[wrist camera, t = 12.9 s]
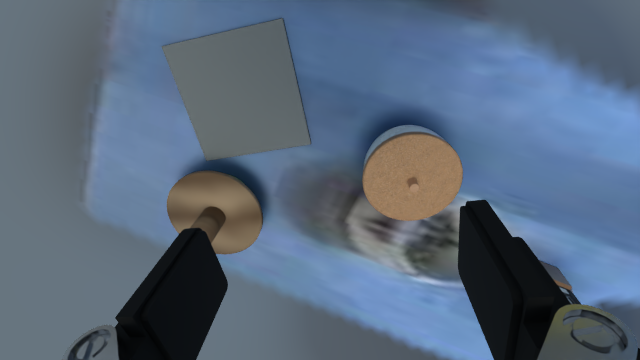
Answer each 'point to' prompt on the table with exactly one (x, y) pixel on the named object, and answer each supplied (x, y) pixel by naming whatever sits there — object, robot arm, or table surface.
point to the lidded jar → (411, 173)
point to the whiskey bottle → (561, 282)
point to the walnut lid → (216, 210)
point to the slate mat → (240, 90)
